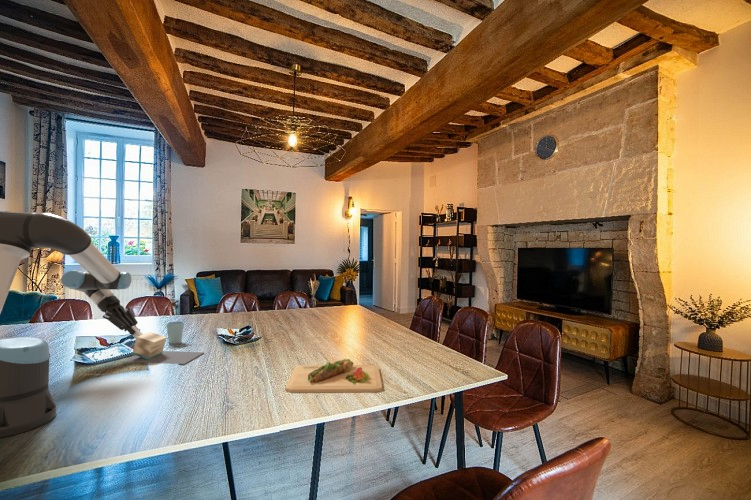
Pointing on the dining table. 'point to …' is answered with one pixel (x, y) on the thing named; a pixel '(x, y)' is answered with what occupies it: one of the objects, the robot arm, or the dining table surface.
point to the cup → (175, 331)
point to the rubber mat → (168, 358)
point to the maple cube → (149, 345)
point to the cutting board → (335, 378)
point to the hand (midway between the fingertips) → (140, 338)
